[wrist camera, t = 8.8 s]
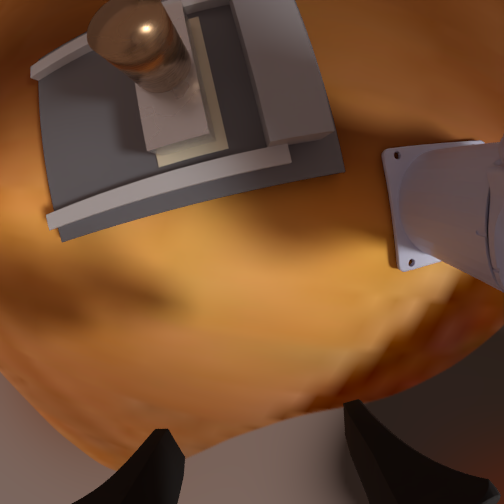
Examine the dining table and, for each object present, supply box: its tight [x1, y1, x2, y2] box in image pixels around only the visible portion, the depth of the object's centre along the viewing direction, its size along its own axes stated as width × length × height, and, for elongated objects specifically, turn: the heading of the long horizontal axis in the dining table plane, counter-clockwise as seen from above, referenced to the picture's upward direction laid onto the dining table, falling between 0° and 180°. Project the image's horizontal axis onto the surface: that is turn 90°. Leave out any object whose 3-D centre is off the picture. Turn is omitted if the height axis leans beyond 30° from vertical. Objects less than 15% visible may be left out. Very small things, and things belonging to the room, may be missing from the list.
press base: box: [30, 0, 345, 242], centre depth 14 cm, size 18×14×4 cm
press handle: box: [87, 0, 216, 156], centre depth 10 cm, size 3×8×8 cm, turn 13°
